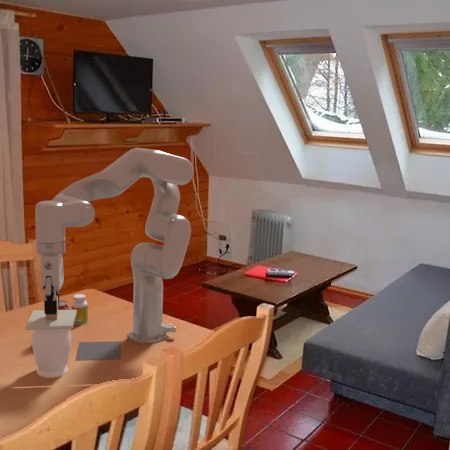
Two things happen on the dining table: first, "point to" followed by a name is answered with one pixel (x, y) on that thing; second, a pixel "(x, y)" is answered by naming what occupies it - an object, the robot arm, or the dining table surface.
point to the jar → (51, 351)
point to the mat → (98, 351)
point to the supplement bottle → (80, 309)
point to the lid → (51, 319)
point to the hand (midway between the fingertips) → (52, 310)
